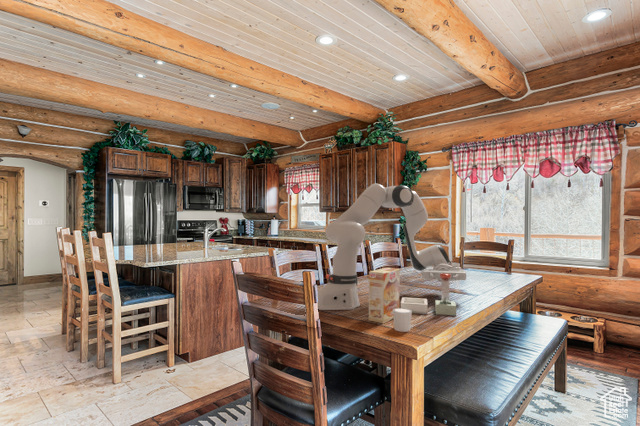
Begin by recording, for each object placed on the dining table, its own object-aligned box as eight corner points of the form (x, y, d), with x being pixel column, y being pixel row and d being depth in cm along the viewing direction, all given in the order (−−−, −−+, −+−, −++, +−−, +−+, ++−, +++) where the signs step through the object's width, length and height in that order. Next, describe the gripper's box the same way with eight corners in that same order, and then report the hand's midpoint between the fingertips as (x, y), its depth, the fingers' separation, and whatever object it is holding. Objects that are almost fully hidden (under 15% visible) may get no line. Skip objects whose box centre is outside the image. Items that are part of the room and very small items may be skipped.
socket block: (436, 314, 150) (435, 304, 150) (435, 309, 158) (435, 300, 158) (456, 315, 148) (456, 305, 148) (454, 310, 155) (454, 301, 155)
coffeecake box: (384, 324, 136) (384, 273, 136) (367, 320, 140) (367, 271, 141) (400, 315, 148) (400, 268, 148) (384, 312, 152) (384, 267, 153)
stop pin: (443, 314, 150) (443, 275, 150) (437, 311, 154) (437, 273, 154) (453, 313, 151) (453, 274, 151) (446, 310, 155) (446, 273, 155)
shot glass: (410, 333, 125) (410, 313, 125) (391, 331, 128) (391, 311, 128) (412, 327, 132) (412, 308, 132) (394, 325, 134) (394, 307, 134)
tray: (400, 312, 153) (400, 302, 153) (402, 305, 163) (402, 297, 163) (427, 314, 150) (427, 304, 150) (427, 307, 160) (427, 298, 160)
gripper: (421, 265, 181) (421, 270, 167) (464, 267, 175) (467, 271, 162) (421, 278, 181) (421, 283, 167) (464, 279, 175) (467, 285, 162)
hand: (444, 277), depth 165 cm, fingers open, 8 cm apart
